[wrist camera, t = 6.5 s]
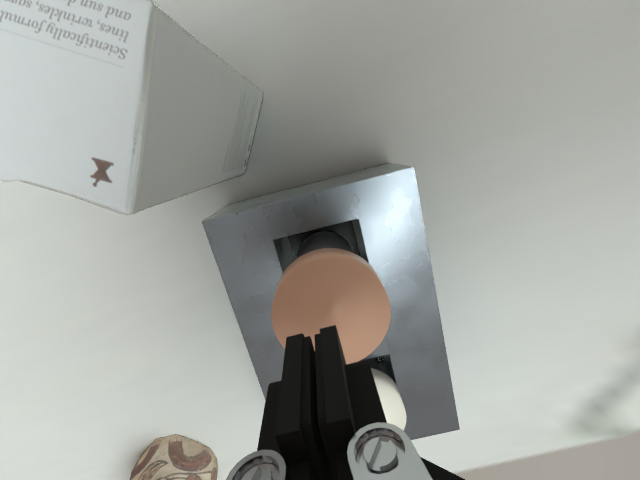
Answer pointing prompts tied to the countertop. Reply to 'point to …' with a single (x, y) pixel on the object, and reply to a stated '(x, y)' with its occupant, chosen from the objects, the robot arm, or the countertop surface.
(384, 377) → the knob
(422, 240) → the housing
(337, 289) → the knob
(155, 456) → the figurine
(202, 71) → the skincare box
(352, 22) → the countertop surface
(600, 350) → the countertop surface
